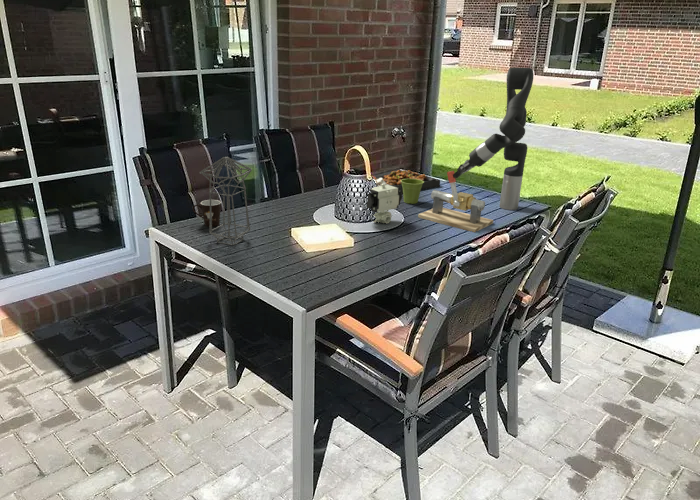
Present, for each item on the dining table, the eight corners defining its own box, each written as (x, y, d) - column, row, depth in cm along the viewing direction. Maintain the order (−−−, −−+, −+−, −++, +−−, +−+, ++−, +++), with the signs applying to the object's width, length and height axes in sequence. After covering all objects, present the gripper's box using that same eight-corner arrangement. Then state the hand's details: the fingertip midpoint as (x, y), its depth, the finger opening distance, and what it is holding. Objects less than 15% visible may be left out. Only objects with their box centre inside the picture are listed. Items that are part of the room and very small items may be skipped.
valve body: (435, 209, 269) (437, 186, 264) (483, 222, 253) (486, 197, 249) (426, 213, 263) (428, 189, 259) (475, 226, 248) (478, 201, 243)
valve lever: (455, 207, 252) (448, 171, 249) (461, 206, 250) (454, 170, 247) (453, 207, 250) (446, 172, 248) (459, 207, 248) (452, 171, 246)
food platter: (377, 197, 293) (378, 179, 289) (351, 187, 312) (351, 169, 308) (439, 187, 317) (441, 170, 314) (411, 178, 336) (413, 161, 332)
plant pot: (425, 201, 287) (427, 180, 283) (415, 206, 278) (417, 185, 274) (405, 197, 293) (407, 177, 289) (395, 202, 284) (396, 181, 280)
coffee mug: (226, 223, 245) (224, 201, 241) (213, 228, 237) (212, 206, 234) (205, 219, 249) (203, 197, 245) (192, 224, 242) (190, 202, 238)
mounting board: (437, 209, 275) (438, 206, 274) (493, 223, 257) (493, 220, 257) (418, 217, 262) (418, 214, 261) (474, 232, 244) (475, 229, 244)
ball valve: (372, 228, 245) (374, 189, 239) (361, 222, 251) (362, 185, 245) (402, 221, 255) (405, 184, 249) (390, 216, 262) (393, 180, 255)
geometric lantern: (256, 238, 228) (254, 155, 214) (234, 251, 215) (230, 164, 201) (225, 231, 234) (220, 150, 220) (201, 244, 220) (195, 158, 207)
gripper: (484, 144, 241) (457, 167, 252) (470, 148, 231) (442, 172, 242) (494, 158, 239) (466, 180, 251) (480, 162, 230) (452, 186, 241)
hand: (454, 176), depth 247 cm, fingers closed
